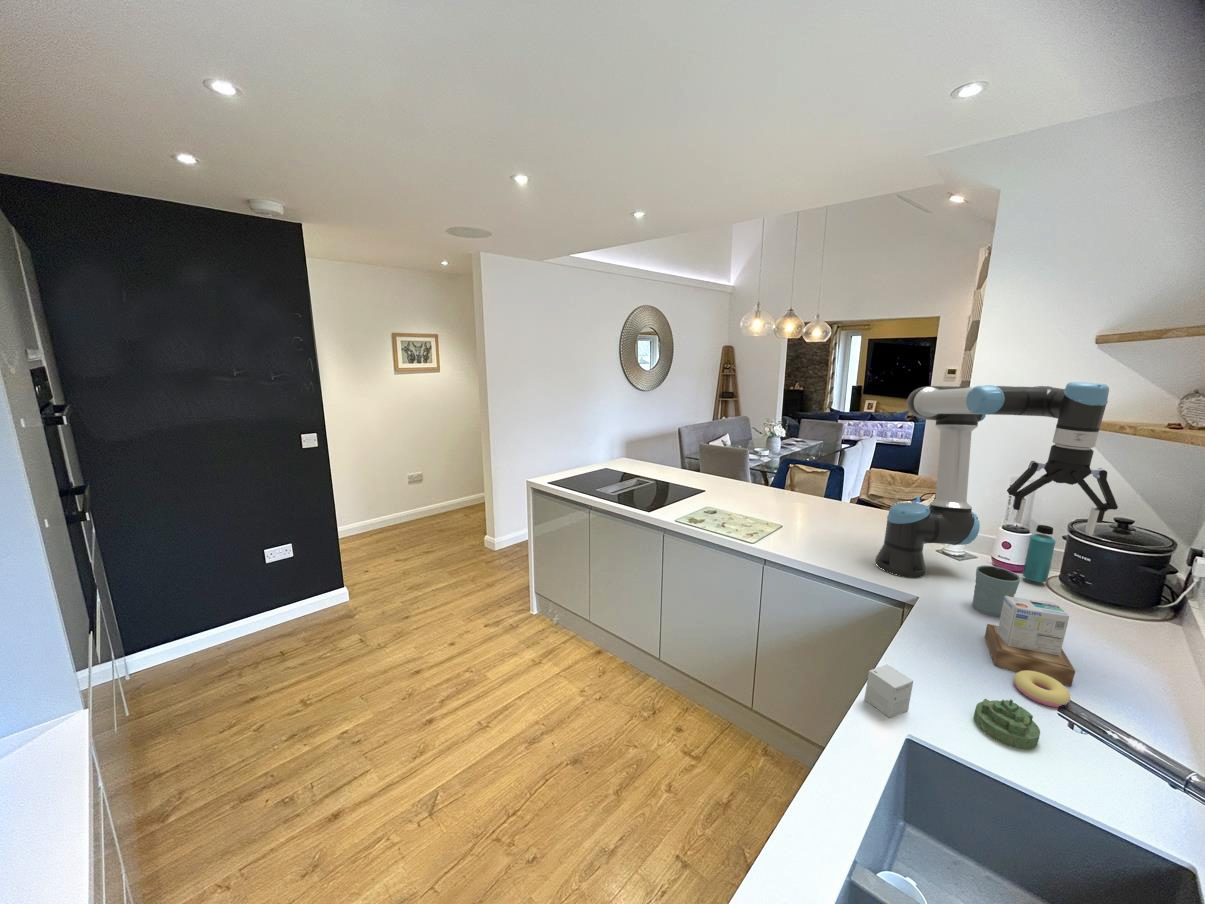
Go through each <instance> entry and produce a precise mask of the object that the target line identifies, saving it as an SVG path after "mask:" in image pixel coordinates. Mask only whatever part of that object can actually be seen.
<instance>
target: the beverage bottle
mask: <svg viewBox="0 0 1205 904" xmlns="http://www.w3.org/2000/svg"><path fill="white" fill-rule="evenodd" d="M1035 531H1036V532H1037V533H1035V534H1032V535H1031V536H1030V538H1029V543H1028V547H1027V553H1026V556H1025V561H1024V564H1023V565H1024V566H1023V569H1022V576H1023V577H1024V578H1025V579H1027V580H1029V581H1033V582H1037V583H1045V582H1047V581H1048V580H1049V574H1050V571H1051V567H1052V561H1053V559H1054V558H1053V555H1054V551H1055V546H1056V543H1057V542H1056V540H1055V539H1054V538H1053V537H1052V536H1051V535H1054V527H1053V526H1050V525H1045V524H1038V525H1037V527H1036V529H1035Z"/></svg>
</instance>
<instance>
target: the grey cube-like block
mask: <svg viewBox="0 0 1205 904" xmlns="http://www.w3.org/2000/svg"><path fill="white" fill-rule="evenodd" d="M913 685H914V680H913V679H912V678H910V677H909V676H907V675H906V674H903V672H900V671H899V670H898V669H896V668H894V667H893V666H891V665H889V664H885V665H882V666H877V667H875V668H873V669H870V670H869V671H868V675H867V681H866V687H865V694H864V700H865V701H866V702H867V703H868V704H870V705H871V706H872V707H874V708H875V707H876V708H875V709H876V710H878V711H880V712H881V713H882V714H884V715H885V716H886V717H887V718H889V717H891V718H892V716H893V717H895V716H897V715H899V713H900V714H902V713H904V712H908V711H909V708H910V702H911V697H912V691H913ZM896 714H897V715H896ZM894 715H895V716H894Z"/></svg>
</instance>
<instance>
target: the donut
mask: <svg viewBox="0 0 1205 904" xmlns="http://www.w3.org/2000/svg"><path fill="white" fill-rule="evenodd" d="M1013 683H1014V685H1015V687H1016V689H1018V691H1020V693H1021V694H1022V695H1024V696H1026V697H1027V698H1029V699H1030V700H1032V701H1034V702H1035V703H1036V702H1037V703H1039V704H1040V705H1045V706H1048V707H1054V708H1060V707H1059V706H1061V705H1062V704H1065V703H1066V702H1069V703H1070V701H1071V694H1070V692H1069V690H1068V689H1067V687H1065V685H1064V684H1061V683H1060V682H1058V681H1057V680H1055V679H1054V678H1052V677H1050V676H1048V675H1045V674H1043V673H1039V672H1036V671H1029V670H1024V671H1020V672H1016V673H1015V675H1014V676H1013Z"/></svg>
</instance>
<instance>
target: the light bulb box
mask: <svg viewBox="0 0 1205 904" xmlns="http://www.w3.org/2000/svg"><path fill="white" fill-rule="evenodd" d="M1069 619H1070V615H1069V614H1068V613H1067V612H1066V611H1065V610H1063V608H1061V607H1060V606H1059V605H1058V604H1057V603H1055V602H1049V601H1043V600H1042V601H1041V600H1036V599H1027V598H1022V597H1021V598H1020V597H1015V596H1014V597H1009V596H1004V602H1003V607H1002V612H1001V617H999V622H998V623H999V624H998V626H999V627H998V632H997V633H998V635H999V636H1000V637H1001V639H1002V640H1003V641H1004V643H1005V644H1006V645H1007V646H1010V647H1016V648H1021V649H1026V650H1032V651H1037V652H1042V653H1048V654H1053V655H1058V656H1060V653H1061V649H1062V650H1063V644H1064V640H1065V636H1066V631H1067V627H1068V624H1069Z"/></svg>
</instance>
